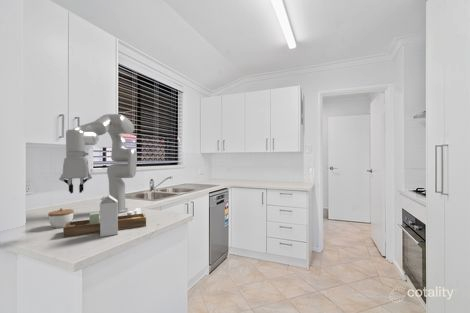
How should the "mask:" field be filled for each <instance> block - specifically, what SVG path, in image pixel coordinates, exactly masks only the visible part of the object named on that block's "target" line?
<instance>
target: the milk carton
mask: <svg viewBox="0 0 470 313" xmlns="http://www.w3.org/2000/svg"><path fill="white" fill-rule="evenodd" d="M99 212H100V233H99V235H100V237H99V238H103V237H107V236H108V237H109V236H116V235H118V234H119V230H118V216H119V213H118V200H117V199H115V198H114V197H112V196H111V195H109V193H108V194H107V196H104V195H103V197H101V198H100V203H99Z"/></svg>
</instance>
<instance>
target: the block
mask: <svg viewBox="0 0 470 313" xmlns="http://www.w3.org/2000/svg"><path fill="white" fill-rule="evenodd" d="M88 217H89V219H88V220H89V222H90V224H95V223H99V222H100V211H97V212H90V213H89V215H88Z"/></svg>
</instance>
